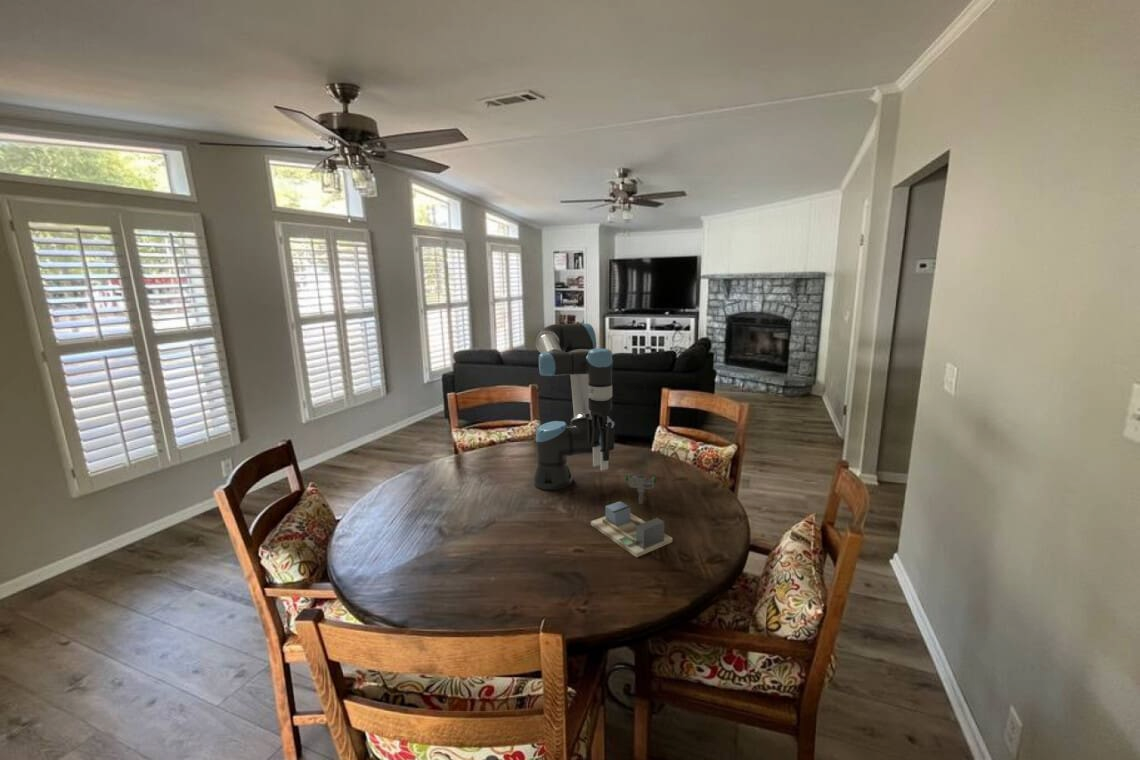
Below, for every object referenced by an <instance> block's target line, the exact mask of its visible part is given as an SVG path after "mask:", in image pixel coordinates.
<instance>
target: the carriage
mask: <svg viewBox="0 0 1140 760" xmlns="http://www.w3.org/2000/svg"><path fill="white" fill-rule="evenodd" d="M631 508H632V504H629V505H627V504H625V502H622V501H617V502H615V503H614V502H613V503H611V504H607V505H605V512H604V514H605V515H604V516H605V519H606V520H608V521H609V522H611V523H612V524H614V525H615V526H620V525H623V524H625V523H628V522H630V513H631Z"/></svg>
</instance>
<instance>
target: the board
mask: <svg viewBox="0 0 1140 760" xmlns="http://www.w3.org/2000/svg"><path fill="white" fill-rule="evenodd" d="M645 522H646V521H644V520H643V519H641V518H639V516H637V515H635V514H633V513H631V512H630V522H628V523H625V524H623V525H620V526H615V525H614V524H612V523H611V522H609V521H608V520H606V519H605V515H604V516H602V517H599V518H597V519H593V520H591V521H590V526H592V527H593V528H595V529H596V530H597V531H599V532H600V533H601V534H603V535H604V536H606V537H607V538H609V539H610V540H611V541H613V542H614V543H616V544H617V545H618V546H620V547H621V548H623V549H624V550H626V551H627V552H628V553H629V554H631V555H633V556H634V557H635V558H638V557H641V556H643V555H646V554H648V553H650V552H652V551H656V550H657V549H659V548H662V547H664V546H666V545H668V544H671V543H673V537H671V536H670V535H668V534H666V533H665V532H664V541H662V542H659V543H657V544H655V545H652V546H650V547H648V548H645V549H642V548H641V547H639V546H638V545H637V544H636V542H637V525H640V524H642V523H645Z"/></svg>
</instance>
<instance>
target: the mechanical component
mask: <svg viewBox="0 0 1140 760" xmlns="http://www.w3.org/2000/svg"><path fill="white" fill-rule="evenodd" d="M625 480H626V481H628V486H629V487H630V488H637V490H636V491H637V492H638V504H639V505H643V504H644V493H645V492H646V490H645V489H647V490H652V489H654V487H655V486H654V485H655V483H657V477H654V476H651V478H650V479H647V478H646V475H645V474H635V473H629V474H628V475H626V476H625Z"/></svg>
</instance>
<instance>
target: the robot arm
mask: <svg viewBox="0 0 1140 760" xmlns="http://www.w3.org/2000/svg"><path fill="white" fill-rule="evenodd" d="M534 345H535V348H536V349H537V351H538V352H539V353H540V354H539V355H538V369H539V370H538V371H539V372H538V373H539V375H540V376H542V377H543V376H545V377H546V376H548V377H553V376H556V377H557V376H568V375H569V376H570V377H569V378H570V386H571V397H572V399H571V400H572V407H573V408H572V409H573V411H572V412H573V417H572V418H571V420H570V425H567V423H566V421H561V420H560V421H559V420H553V421H549V422H545V423H543V424H541V425H539V426H538V427H537V429H536V430H535V431H536V432H535V434H536V435H535V442H536V465H535V468H534V473H533V476H532V483H533V485H534V486H535V487H537V488H538V489H541V490H546V491H556V490H563V489H565V488H568V487H569V486H570V485H571V484H572V483H573V475H572V473H571V470H570V466H569V464H568V457H574V456H578V457H579V456H588V455H590V456H592V467H597V466H599V469H600V471H606V470H608V469H609V460H610V451H613V450H614V449H615V432H616V431H615V429H616V426H617V422H616V420H612V419H611V414H610V413H611V411H612V409H613V399H612V397H613V361H614V359H613V352H612V350H611V349H609V348H602V347H601V348H599V347H598V348H597V337H596V333H595V329H594V327H593V326H592V325H591V324H590V323H582V322H579V323H559V324H558V323H555V324H551V325H548V326H545V327H543V328H542V329H540V331H538V333H537V334H536V336H535V338H534Z"/></svg>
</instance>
